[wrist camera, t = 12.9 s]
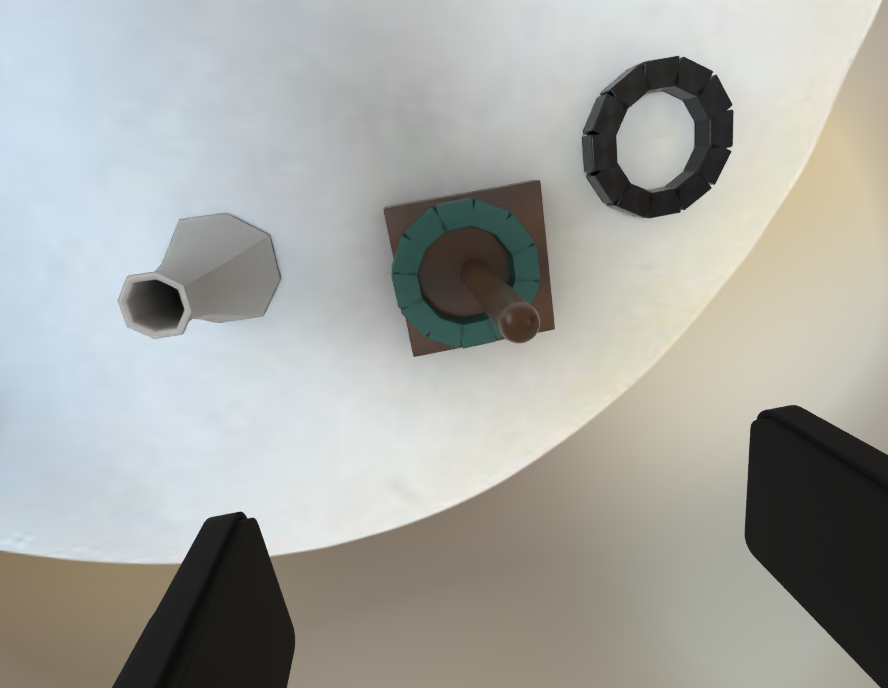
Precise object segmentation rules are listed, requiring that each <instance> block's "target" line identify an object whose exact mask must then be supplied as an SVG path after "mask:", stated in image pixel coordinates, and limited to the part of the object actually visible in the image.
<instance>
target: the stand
mask: <svg viewBox="0 0 888 688" xmlns="http://www.w3.org/2000/svg"><path fill="white" fill-rule="evenodd" d="M464 198H470V199H473V198H474V199H478V200H481V201H484V202H486V203H489V204H492V205H495V206H497V207H500V208H503V209H506V210H508V211H509V213H511V214H514V215H515V216H516V218H517V219H518V220H519V222H520V223H521V224H522V225H523V227H524V228H525V229H526V231H527V232H528V233H529V234H530V236H531V237H532V238H533V239H534V242H533V243H532V244H534V245H536V247H537V255H538V263H539V271H540V279H538V280H536V281H537V282H539V283H540V284H539V287H538V289H537V292H536V294H535V297H534V299H533V302H532V304H531V305H530V304H529V303H528V302H527V301H526V300H525V299H524V298H523V297H522V296H520V295H519V294H518V293H517V292H516V291H515V290H514V289H513V288H512V287H510V286H509V285H508V284H507V282H508V280H509V277H510V270H509V263H508V257H507V251H506V250H505V249H504V247H503V246H502V245H501V244H500V243H499V241H498V240H497V239H496V238H495V236H494V235H493V234H492V233H489V232H486V231H483V230H481V229H478V228H475V227H472V226H471V227H466V228H461V229H456V230H452V231H447V232H445V233H444V234H443V235H442V236H440V237H439V238H438V239H437V240H436V241H435V242H434V243H433V244H432V245H430V246H429V247H428V248H427V249H426V251H425V254H424V257H423V260H422V263H421V266H420V269H419V272H418V278H419V283H420V288H421V293H422V295H423V296H424V297H425V298H426V299H427V301H428V302H429V303H430V304H431V305H432V306H433V307H434V308H435V309H436V310H437V312H440V313H443V314H447V315H450V316H453V317H456V318H459V319H460V318H465V317H470V316H474V315H479V314H483V313H485V312H486V314H487V315H488V316H489V318H490V319H491V321H492V322H493V324H494V325H495V326H496V328H497V329H498V331H499V332H500V333H501V335H502V336H503V337H502V338H500V339H498V338H497V337H496V336H495V335H494V336H495V341H497V340H502V339H506V340H508V341H510V342H512V343H525V342H527V341H529V340H531V339H532V338H533V337H534V336H535V335H536V334H537V333H538V332H543V331H548V330H554V329H555V326H554V316H553V306H552V296H551V286H550V276H549V265H548V255H547V245H546V235H545V225H544V215H543V205H542V195H541V184H540V180H532V181H526V182H521V183H515V184H510V185H504V186H499V187H493V188H488V189H482V190H477V191H471V192H466V193H460V194H455V195H449V196H444V197H438V198H433V199H428V200H422V201H417V202H411V203H406V204H400V205H395V206H389V207H385V208H384V214H385V219H386V223H387V228H388V233H389V238H390V243H391V248H392V253H393V258H394V257H395V254H396V251H397V248H398V244H399V241H400V238H401V235H402V234H404V235H406V234H405V229H406V228H407V227H408V226H409V225H410V224H412V223H413V222H414V221H415V220H416V219H417V218H418V217H419V216H420V215H421V214H423V213H424V212H425V211H426V210H427V209H428V208H429V207H431V208H433V209H434V211H435V207H434V205H435V204H439V203H444V202H449V201H454V200H459V199H464ZM406 322H407V327H408V332H409V336H410V341H411V346H412V351H413V356H414V357H416V356H421V355H426V354H431V353H436V352H441V351H446V350H451V349H456V348H457V347H453V346H450V345H447V344H443V343H440V342H437V341H433V340H430V339H428V337H427V335H425V336H423V335H422V334H421V333H420V332H419V331H418V330H417V329H416V328H415V327H414V326H413V325H412V324H411V323H410V322H409V320H408V319H407V318H406ZM459 348H462V345H461V344H460V346H459Z"/></svg>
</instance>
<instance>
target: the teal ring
mask: <svg viewBox="0 0 888 688" xmlns="http://www.w3.org/2000/svg"><path fill="white" fill-rule="evenodd" d="M434 207H435V211H434V209H433V208H431V207H429V208H428V209H427V210H426V211H425V212H424V213H423V214H421V215H420V216H419V217H418V218H417V219H416V220H415V221H414V222H413V223H412V224H410V225H409V226H408V227H407V228H406V229H405V234H406V235H404V234H402V235H401V238H400V241H399V244H398V248H397V251H396V254H395V257H394V260H393V263H392V280H393V285H394V289H395V293H396V298H397V302H398V307H399V308H401V313H402V314H403V315H404V316H405V317H406V318H407V319H408V320H409V322H410V323H411V324H412V325H413V326H414V327H415V328H416V329H417V330H418V331H419V332H420V333H421V334H422V335H423V336H425V335H427V337H428V339H430V340H433V341H437V342H440V343H443V344H447V345H450V346H453V347H457V348H459V346H460V344H461V345H462V347H463V348H467V347H472V346H477V345H481V344H486V343H491V342H495V336H496V337H497V338H498V339H500V338H502V337H503V336H502V335H501V333H500V332H499V331H498V329H497V328H496V326H495V325H494V324H493V322H492V321H491V319H490V318H489V316H488V315H487V314H486V312H485V313H483V314H479V315H474V316H470V317H465V318H460V319H459V318H456V317H453V316H450V315H447V314H443V313H440V312H437V310H436V309H435V308H434V307H433V306H432V305H431V304H430V303H429V302H428V301H427V299H426V298H425V297H424V296H423V295H422V293H421V288H420V283H419V278H418V272H419V269H420V266H421V263H422V260H423V257H424V254H425V251H426V249H427V248H428V247H429V246H430V245H432V244H433V243H434V242H435V241H436V240H437V239H438V238H439V237H440V236H442V235H443V234H444V233H445V232H447V231H452V230H456V229H461V228H466V227H471V226H472V227H475V228H478V229H481V230H483V231H486V232H489V233H492V234H493V235H494V236H495V238H496V239H497V240H498V241H499V243H500V244H501V245H502V246H503V247H504V249H505V250H506V251H507V257H508V263H509V270H510V277H509V280H508V282H507V284H508V285H509V286H510V287H512V288H513V289H514V290H515V291H516V292H517V293H518V294H519V295H520V296H522V297H523V298H524V299H525V300H526V301H527V302H528V303H529V304H530V305H531V304H532V302H533V299H534V297H535V294H536V292H537V289H538V287H539V284H540V283H539V282H537V281H536V280H538V279H540V271H539V263H538V255H537V247H536V245H534V244H532V243H533V242H534V239H533V238H532V237H531V236H530V234H529V233H528V232H527V231H526V229H525V228H524V227H523V225H522V224H521V223H520V222H519V220H518V219H517V218H516V216H515V215H514V214H511V213H509V211H508V210H506V209H503V208H500V207H497V206H495V205H492V204H489V203H486V202H484V201H481V200H478V199H474V198H473V199H470V198H464V199H459V200H454V201H449V202H444V203H439V204H435V205H434ZM494 335H495V336H494Z"/></svg>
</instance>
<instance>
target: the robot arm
mask: <svg viewBox="0 0 888 688" xmlns="http://www.w3.org/2000/svg"><path fill="white" fill-rule="evenodd" d="M747 483H748V484H747V500H746V518H745V540H746V544H747V546H748V548H749V550H750V552H751V553H752V554H753V555H754V557H755V558H756V559H757V560H758V561H759V562H760V563H761V564H762V565H763V566H764V567H765V568H766V569H767V570H768V571H769V572H770V573H771V574H772V575H773V577H774V578H776V580H777V581H778V582H779V583H780V584H781V585H782V586H783V587H784V588H785V589H786V590H787V591H788V592H789V593H790V594H791V595H792V596H793V597H794V598H795V599H796V600H797V601H798V602H799V603H800V604H801V605H802V607H804V609H805V610H806V611H807V612H808V613H809V614H810V615H811V616H812V617H813V618H814V619H815V620H816V621H817V622H818V623H819V624H820V625H821V626H822V627H823V628H824V629H825V630H826V631H827V633H828V634H829V635H830V636H831V637H832V638H833V639H834V640H835V641H836V642H837V643H838V644H839V645H840V646H841V647H842V648H843V649H844V650H845V651H846V652H847V653H848V654H849V655H850V656H851V657H852V658H853V659H854V660H855V662H857V664H858V665H859V666H860V667H861V668H862V669H863V670H864V671H865V672H866V673H867V674H868V675H869V676H870V677H871V678H872V679H873V680H874V681H875V682H876V683H877V684H878V685H879V686H880V687H881V688H888V455H887V454H885V453H883V452H881V451H879V450H878V449H876V448H874V447H872V446H870V445H868V444H867V443H865V442H863V441H861V440H859V439H858V438H856V437H854V436H852V435H850V434H849V433H847V432H845V431H843V430H841V429H840V428H838V427H836V426H834V425H832V424H831V423H829V422H827V421H825V420H823V419H822V418H819V417H818V416H816V415H814V414H812V413H811V412H809V411H807V410H805V409H803V408H802V407H799V406H796V405H789V406H784V407H779V408H774V409H769V410H764V411H762V412H760V413H759V415H758V417H757V420H755V421H753V423H752V424H751V429H750V446H749V464H748V482H747ZM294 649H295V633H294V628H293V625H292V622H291V619H290V616H289V613H288V610H287V607H286V604H285V601H284V598H283V595H282V592H281V589H280V587H279V583H278V581H277V578H276V575H275V572H274V569H273V566H272V563H271V560H270V557H269V554H268V551H267V548H266V545H265V542H264V539H263V537H262V534H261V531H260V528H259V525H258V522H257V520H256V519H255V518H248V519H247V517H246V515H245V514H244V513H243V512H236V513H231V514H225V515H220V516H215V517H210V518H208V519H207V520H206V521H205V522H204V524H203V526H202V528H201V530H200V531H199V533H198V535H197V537H196V539H195V540H194V542H193V544H192V546H191V548H190V550H189V551H188V553H187V555H186V557H185V559H184V560H183V562H182V564H181V566H180V568H179V570H178V571H177V573H176V575H175V577H174V579H173V581H172V582H171V584H170V586H169V588H168V590H167V592H166V593H165V595H164V597H163V599H162V600H161V602H160V604H159V606H158V608H157V610H156V611H155V613H154V614H153V616H152V617H151V619H150V620H149V622H148V624H147V625H146V627H145V629H144V631H143V633H142V635H141V636H140V638H139V640H138V642H137V643H136V645H135V647H134V649H133V651H132V652H131V654H130V656H129V658H128V660H127V662H126V663H125V665H124V667H123V669H122V671H121V673H120V674H119V676H118V678H117V680H116V682H115V683H114V685H113V687H112V688H287V684H288V679H289V674H290V669H291V664H292V659H293V655H294Z"/></svg>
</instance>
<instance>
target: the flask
mask: <svg viewBox="0 0 888 688" xmlns="http://www.w3.org/2000/svg"><path fill="white" fill-rule="evenodd" d="M279 280H280V277H279V273H278V269H277V264H276V260H275V256H274V252H273V248H272V244H271V240H270V236H269V235H268V234H266V233H264V232H262V231H260V230H258V229H256V228H254V227H252V226H250V225H248V224H246V223H244V222H242V221H241V220H239V219H237V218H235V217H233V216H231V215H229V214H227V213H222V214H215V215H207V216H200V217H193V218H186V219H179V221H178V224H177V226H176V229H175V231H174V234H173V236H172V239H171V241H170V244H169V246H168V249H167V251H166V254H165V256H164V259H163V261H162V264H161V265H160V266H159V267H158V268H157V269H156V270H155V271H154V272H149V273H142V274H136V275H129V276H127V277H126V280H125V283H124V285H123V288H122V290H121V293H120V295H119V298H118V304H119V306H120V309H121V312H122V315H123V317H124V320H125V323H126V326H127V327H128V328H130V329H133V330H135V331H137V332H140V333H142V334H144V335H147V336H149V337H151V338H153V339H157V338H163V337H170V336H176V335H182V334H184V332H185V329H186V327H187V325H188V322H189V321H190V320H192V319H201V320H207V321H211V322H217V323H222V322H228V321H235V320H242V319H248V318H255V317H261V316H263V314H264V312H265V310H266V308H267V306H268V304H269V302H270V300H271V297H272V295H273V293H274V291H275V289H276V287H277V285H278V282H279Z"/></svg>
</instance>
